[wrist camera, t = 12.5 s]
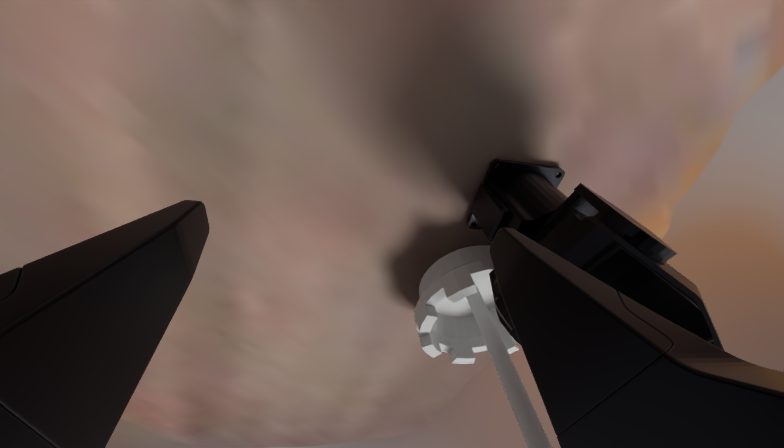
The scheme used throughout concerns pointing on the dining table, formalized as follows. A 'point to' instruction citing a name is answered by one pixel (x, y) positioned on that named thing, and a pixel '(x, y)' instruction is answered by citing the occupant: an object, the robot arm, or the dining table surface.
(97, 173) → the dining table surface
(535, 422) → the flag stand
